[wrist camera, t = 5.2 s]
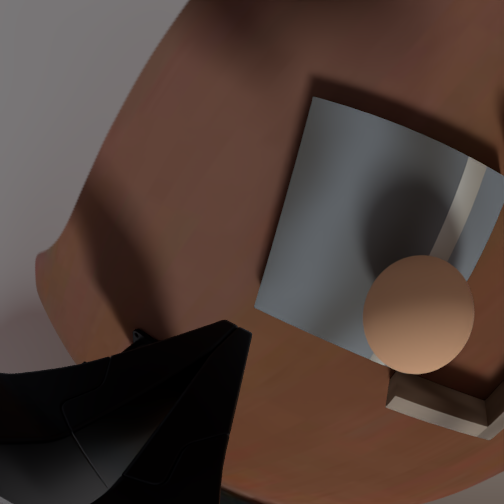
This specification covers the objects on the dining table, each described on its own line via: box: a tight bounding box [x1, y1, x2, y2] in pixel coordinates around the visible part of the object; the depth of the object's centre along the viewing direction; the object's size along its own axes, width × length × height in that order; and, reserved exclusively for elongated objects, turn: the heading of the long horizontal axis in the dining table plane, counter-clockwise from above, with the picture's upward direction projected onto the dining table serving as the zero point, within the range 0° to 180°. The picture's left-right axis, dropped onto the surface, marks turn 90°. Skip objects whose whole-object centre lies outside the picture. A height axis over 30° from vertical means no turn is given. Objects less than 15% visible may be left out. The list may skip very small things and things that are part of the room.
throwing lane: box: [254, 97, 504, 440], centre depth 13 cm, size 20×16×2 cm
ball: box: [363, 255, 474, 374], centre depth 11 cm, size 5×5×5 cm
